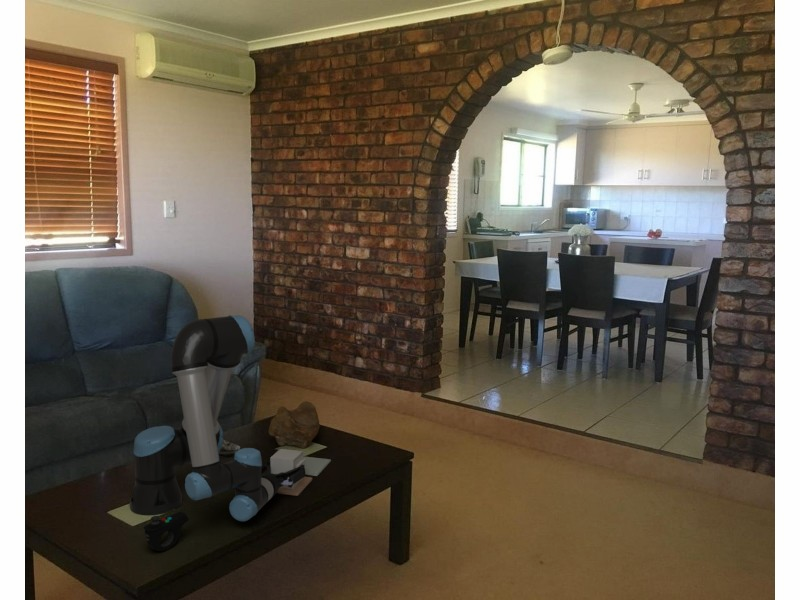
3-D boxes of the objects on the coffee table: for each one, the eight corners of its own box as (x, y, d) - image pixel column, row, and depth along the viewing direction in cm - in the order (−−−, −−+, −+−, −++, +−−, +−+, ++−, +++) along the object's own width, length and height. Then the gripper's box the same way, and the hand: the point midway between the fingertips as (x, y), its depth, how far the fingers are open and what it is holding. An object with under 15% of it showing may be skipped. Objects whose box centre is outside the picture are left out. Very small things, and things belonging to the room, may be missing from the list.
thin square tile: (297, 495, 209) (297, 493, 209) (260, 491, 212) (260, 488, 212) (312, 479, 222) (312, 477, 222) (276, 475, 225) (276, 473, 225)
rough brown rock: (294, 458, 242) (297, 420, 240) (261, 445, 251) (265, 408, 249) (333, 443, 262) (337, 407, 259) (302, 431, 270) (305, 396, 268)
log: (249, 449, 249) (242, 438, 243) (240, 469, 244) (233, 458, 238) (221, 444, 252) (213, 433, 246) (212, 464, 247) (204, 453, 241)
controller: (142, 554, 172) (140, 519, 171) (181, 536, 182) (180, 502, 181) (152, 559, 170) (150, 523, 168) (191, 540, 180) (190, 506, 179)
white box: (293, 489, 212) (293, 460, 211) (270, 486, 214) (270, 457, 213) (302, 479, 220) (302, 451, 218) (280, 476, 222) (280, 448, 220)
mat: (317, 475, 225) (317, 474, 225) (279, 471, 228) (279, 469, 228) (330, 461, 239) (330, 459, 238) (295, 456, 242) (295, 455, 242)
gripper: (232, 496, 202) (264, 468, 224) (295, 504, 197) (321, 475, 219) (231, 473, 201) (263, 447, 223) (295, 481, 196) (321, 454, 218)
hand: (292, 461), depth 221 cm, fingers closed on white box, 8 cm apart
